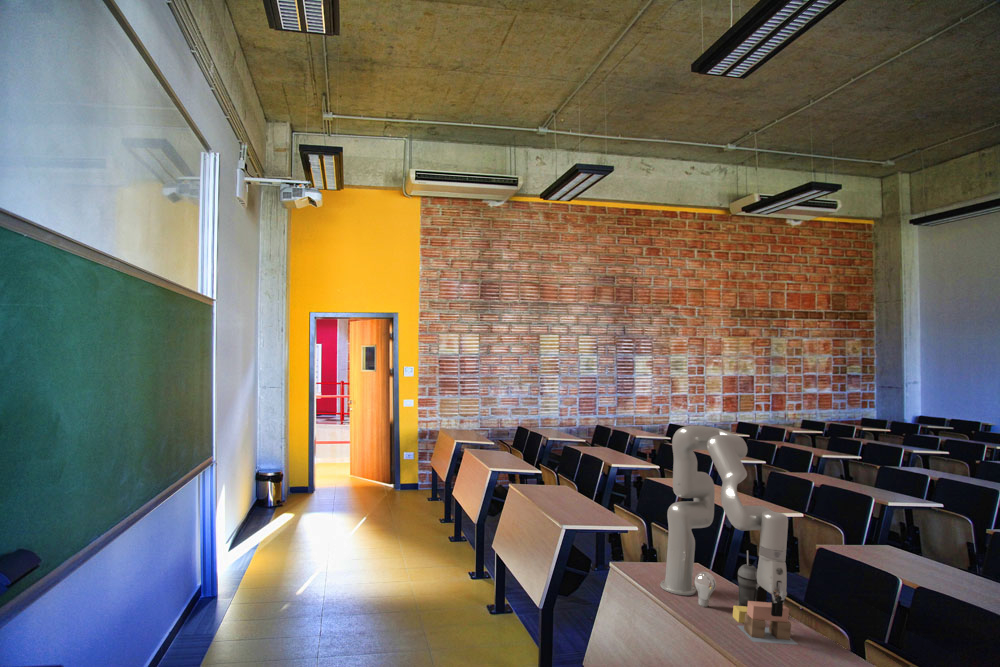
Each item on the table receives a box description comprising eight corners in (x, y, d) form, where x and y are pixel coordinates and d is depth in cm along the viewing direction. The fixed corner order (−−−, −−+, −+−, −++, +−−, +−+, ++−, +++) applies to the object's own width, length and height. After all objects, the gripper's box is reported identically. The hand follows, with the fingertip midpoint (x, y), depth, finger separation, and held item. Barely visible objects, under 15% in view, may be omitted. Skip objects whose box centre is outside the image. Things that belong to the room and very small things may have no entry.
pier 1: (743, 629, 189) (745, 613, 189) (756, 630, 189) (757, 614, 189) (751, 637, 184) (752, 620, 184) (764, 638, 184) (765, 621, 184)
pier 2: (768, 631, 189) (770, 615, 189) (781, 632, 189) (782, 616, 189) (777, 638, 184) (778, 622, 184) (789, 639, 184) (791, 623, 184)
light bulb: (691, 609, 204) (694, 572, 204) (692, 602, 210) (695, 567, 211) (713, 613, 201) (716, 577, 202) (713, 606, 208) (716, 571, 208)
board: (736, 627, 191) (736, 625, 192) (779, 630, 192) (779, 628, 192) (752, 644, 180) (752, 641, 181) (798, 647, 181) (798, 644, 181)
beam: (781, 616, 189) (782, 603, 189) (788, 622, 185) (789, 608, 185) (746, 613, 189) (747, 600, 189) (752, 619, 185) (753, 606, 185)
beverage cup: (746, 616, 202) (750, 555, 203) (729, 607, 208) (734, 548, 209) (762, 614, 205) (766, 554, 205) (745, 605, 211) (750, 547, 212)
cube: (732, 619, 198) (733, 605, 199) (745, 620, 198) (746, 606, 199) (738, 625, 194) (739, 611, 194) (752, 626, 194) (753, 612, 194)
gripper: (799, 563, 179) (795, 622, 178) (770, 545, 196) (766, 599, 196) (774, 561, 179) (770, 620, 178) (747, 543, 196) (743, 597, 195)
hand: (768, 609), depth 187 cm, fingers open, 9 cm apart
